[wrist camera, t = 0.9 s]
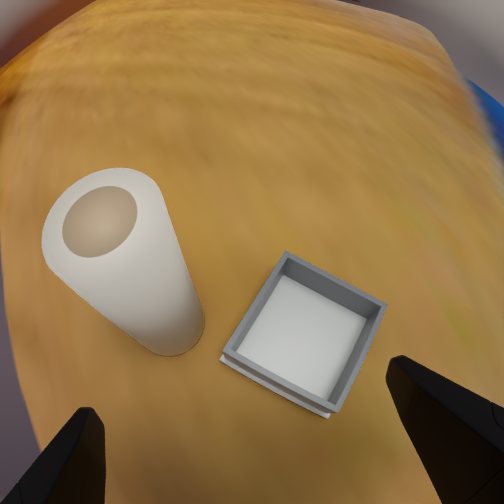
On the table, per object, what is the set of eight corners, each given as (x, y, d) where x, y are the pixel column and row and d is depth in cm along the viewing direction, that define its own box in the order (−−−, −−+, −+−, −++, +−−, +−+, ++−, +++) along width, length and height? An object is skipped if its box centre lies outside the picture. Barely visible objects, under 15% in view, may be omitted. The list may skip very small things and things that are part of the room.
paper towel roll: (178, 370, 22) (100, 313, 10) (122, 330, 24) (21, 240, 11) (218, 310, 25) (192, 196, 12) (162, 276, 26) (101, 152, 14)
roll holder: (326, 418, 21) (339, 419, 18) (219, 361, 23) (215, 352, 20) (374, 317, 24) (392, 302, 21) (278, 267, 26) (283, 245, 23)
